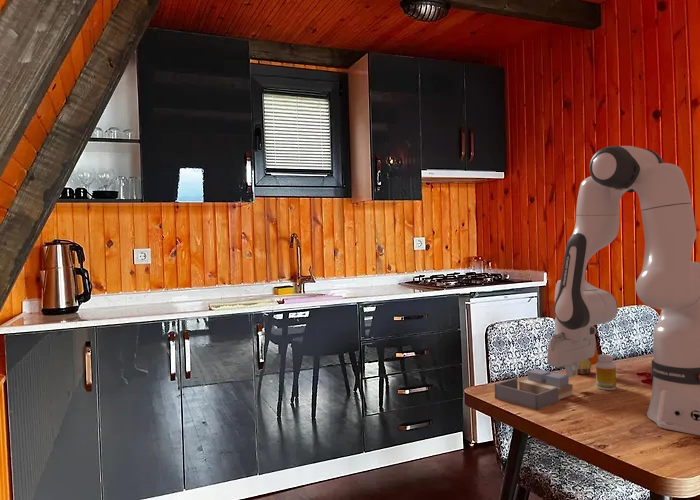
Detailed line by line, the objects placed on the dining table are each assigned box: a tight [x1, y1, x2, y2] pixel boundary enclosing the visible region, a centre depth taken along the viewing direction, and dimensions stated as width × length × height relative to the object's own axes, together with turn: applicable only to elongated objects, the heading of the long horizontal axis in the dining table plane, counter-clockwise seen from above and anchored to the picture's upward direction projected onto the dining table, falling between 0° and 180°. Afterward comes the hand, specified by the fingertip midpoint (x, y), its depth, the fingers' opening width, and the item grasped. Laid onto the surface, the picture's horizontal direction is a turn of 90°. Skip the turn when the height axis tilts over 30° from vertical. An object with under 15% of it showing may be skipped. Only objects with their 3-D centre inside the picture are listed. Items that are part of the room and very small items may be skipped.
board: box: [518, 378, 574, 401], centre depth 157 cm, size 12×8×3 cm
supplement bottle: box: [595, 353, 617, 391], centre depth 160 cm, size 5×5×10 cm
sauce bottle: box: [577, 357, 592, 375], centre depth 177 cm, size 7×6×20 cm
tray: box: [494, 377, 559, 411], centre depth 152 cm, size 14×10×4 cm
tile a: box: [546, 372, 570, 387], centre depth 155 cm, size 4×4×2 cm
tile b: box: [527, 368, 551, 383], centre depth 160 cm, size 4×4×2 cm
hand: (571, 376), depth 160 cm, fingers closed
